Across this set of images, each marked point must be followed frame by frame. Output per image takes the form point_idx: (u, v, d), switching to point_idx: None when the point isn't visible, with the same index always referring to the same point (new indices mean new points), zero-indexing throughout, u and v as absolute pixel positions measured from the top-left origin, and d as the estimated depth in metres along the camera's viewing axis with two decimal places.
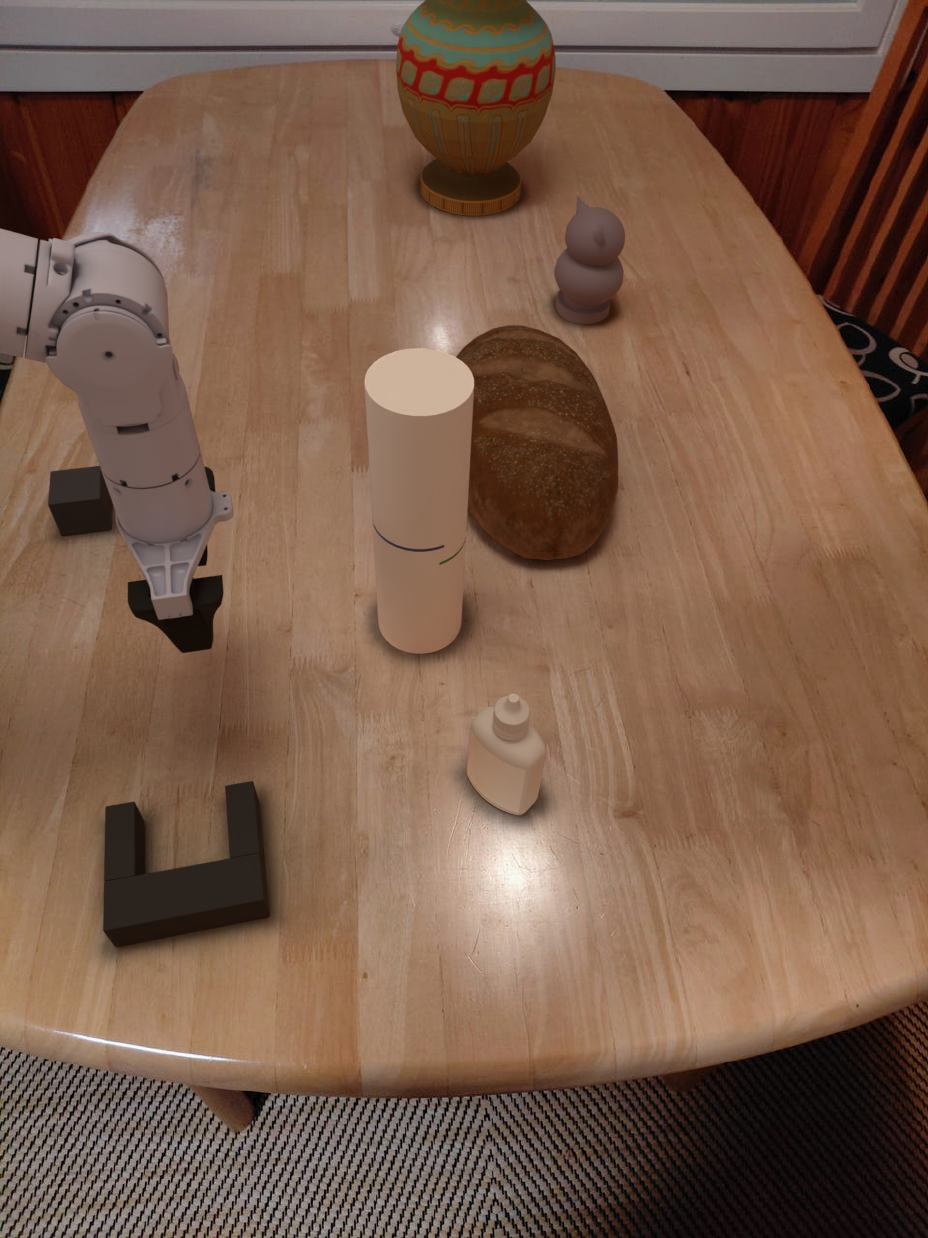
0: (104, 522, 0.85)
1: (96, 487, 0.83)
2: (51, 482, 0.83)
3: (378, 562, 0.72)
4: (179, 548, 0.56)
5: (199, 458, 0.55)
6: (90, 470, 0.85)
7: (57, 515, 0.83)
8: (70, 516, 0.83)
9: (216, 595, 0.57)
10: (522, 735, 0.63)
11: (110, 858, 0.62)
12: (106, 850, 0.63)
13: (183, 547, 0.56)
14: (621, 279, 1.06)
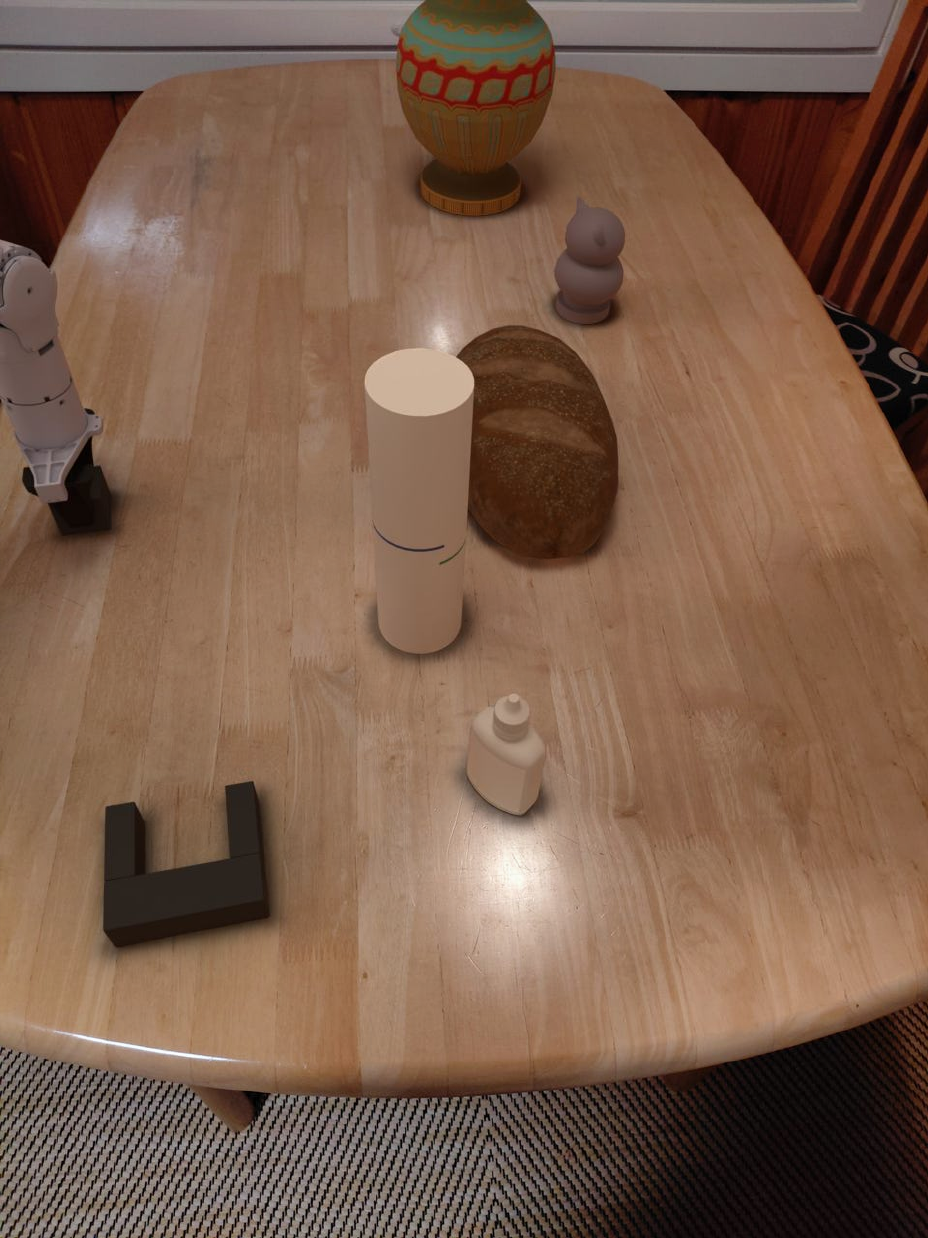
0: (104, 522, 0.85)
1: (96, 487, 0.83)
2: None
3: (378, 562, 0.72)
4: (59, 453, 0.77)
5: (71, 385, 0.75)
6: None
7: (57, 515, 0.83)
8: None
9: (87, 477, 0.78)
10: (522, 735, 0.63)
11: (110, 858, 0.62)
12: (106, 850, 0.63)
13: (62, 452, 0.77)
14: (621, 279, 1.06)
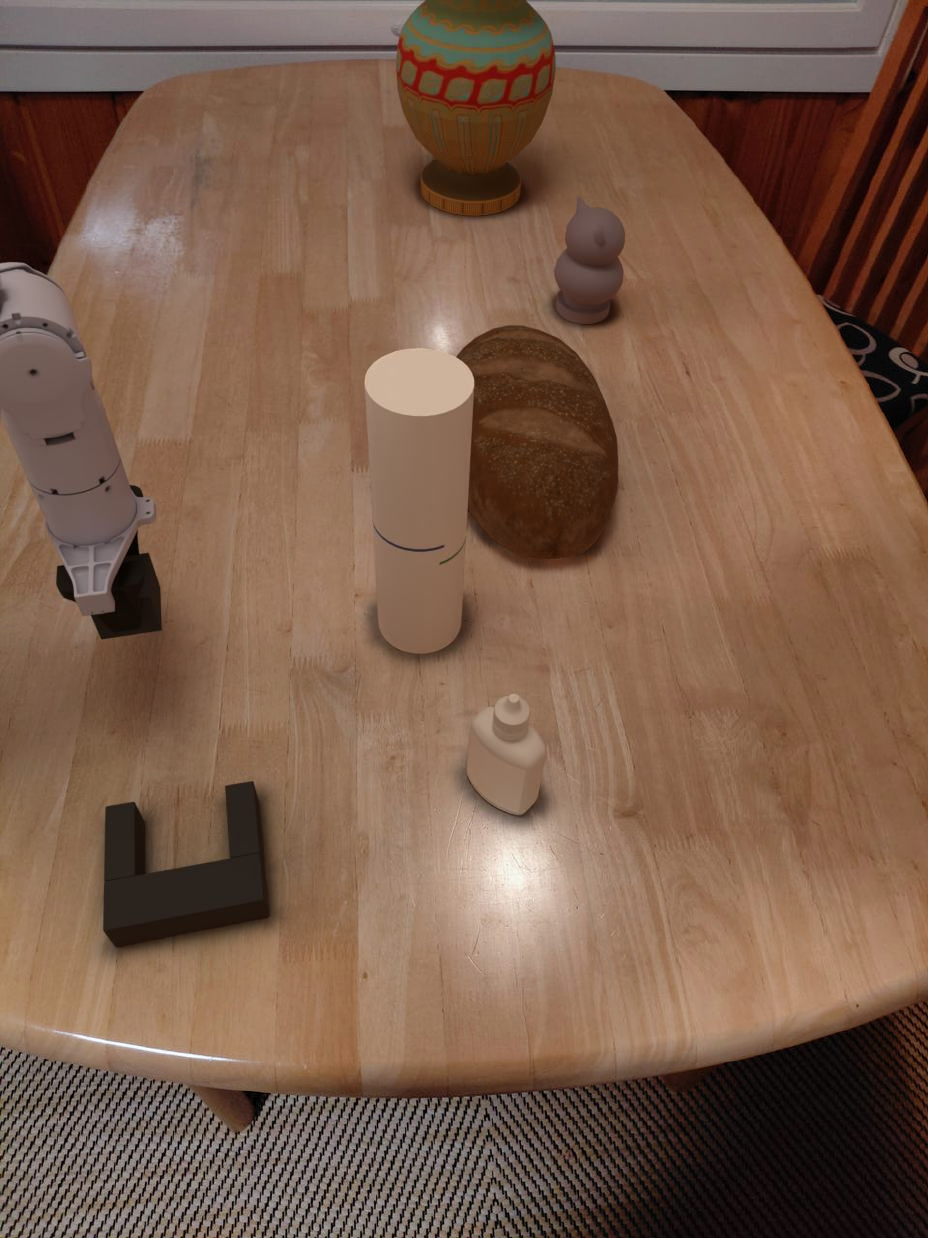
0: (154, 623, 0.69)
1: (145, 582, 0.67)
2: None
3: (378, 562, 0.72)
4: (103, 550, 0.61)
5: (119, 466, 0.59)
6: (137, 559, 0.69)
7: (97, 617, 0.67)
8: None
9: (138, 577, 0.62)
10: (522, 735, 0.63)
11: (110, 858, 0.62)
12: (106, 850, 0.63)
13: (107, 548, 0.61)
14: (621, 279, 1.06)
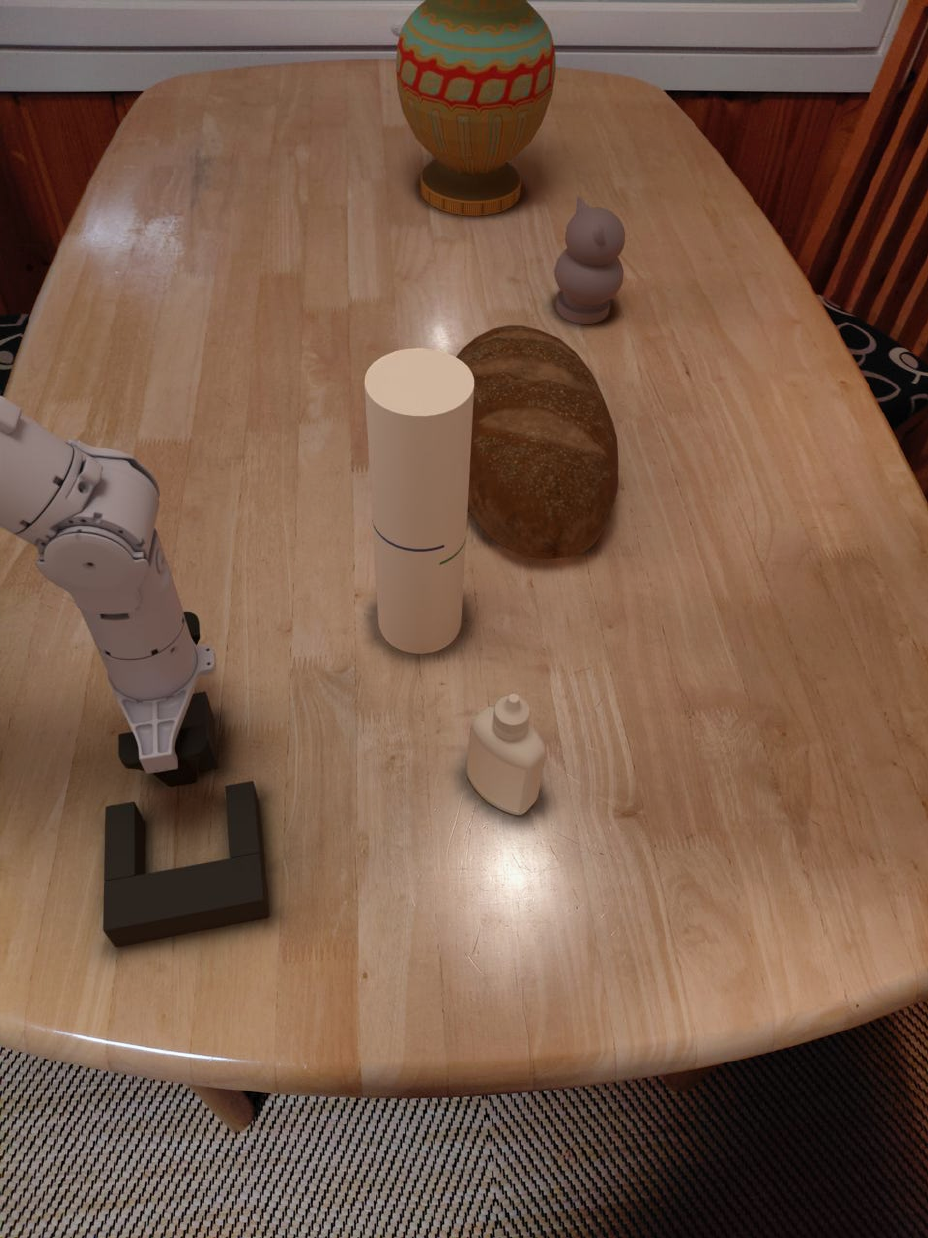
0: (210, 761, 0.70)
1: (203, 724, 0.68)
2: None
3: (378, 562, 0.72)
4: (165, 704, 0.61)
5: (183, 626, 0.60)
6: (194, 698, 0.69)
7: None
8: None
9: (199, 746, 0.62)
10: (522, 735, 0.63)
11: (110, 858, 0.62)
12: (106, 850, 0.63)
13: (169, 702, 0.61)
14: (621, 279, 1.06)
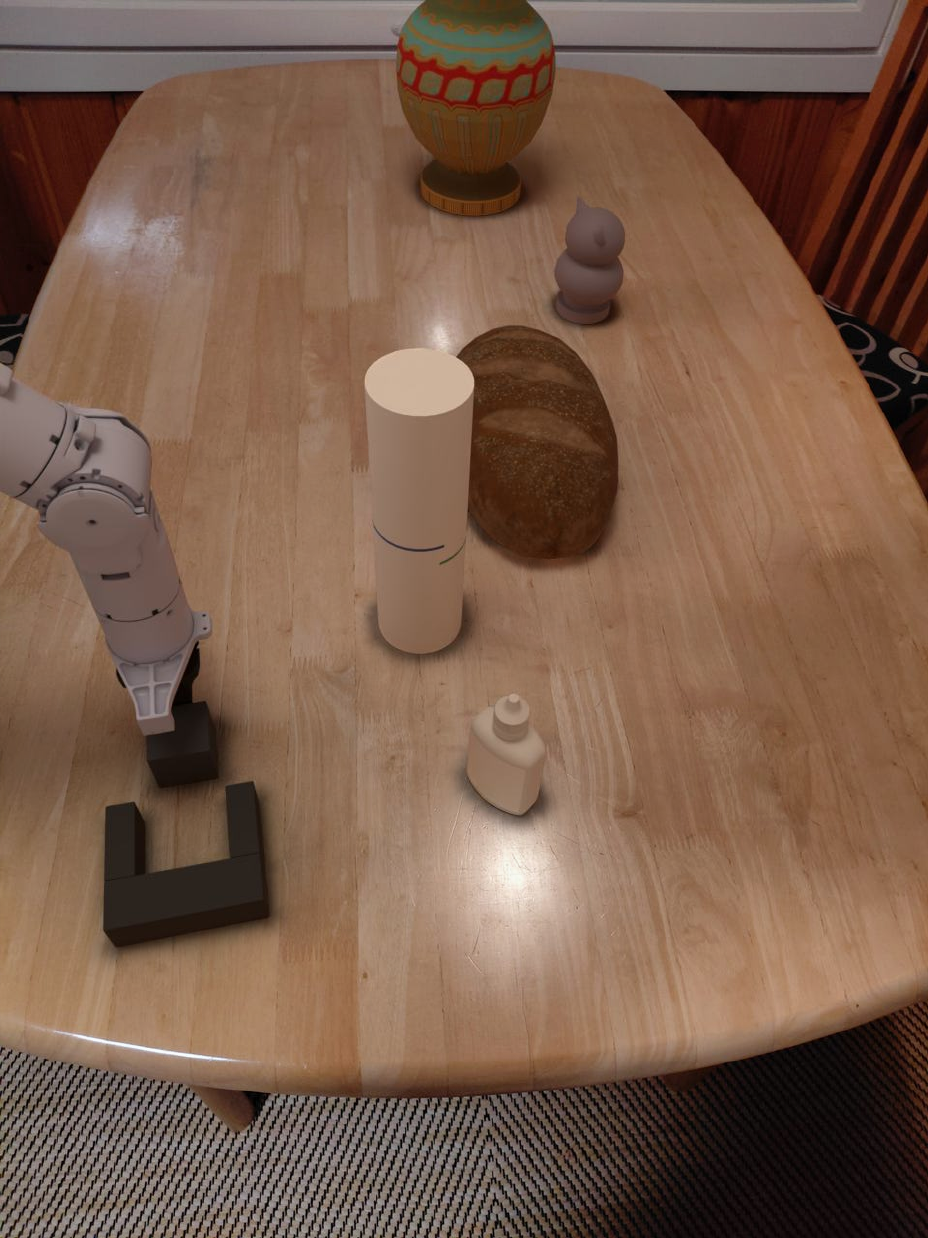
0: (211, 771, 0.69)
1: (203, 734, 0.68)
2: None
3: (378, 562, 0.72)
4: (162, 667, 0.62)
5: (180, 589, 0.60)
6: (195, 708, 0.69)
7: (156, 770, 0.67)
8: (171, 769, 0.68)
9: (194, 667, 0.65)
10: (522, 735, 0.63)
11: (110, 858, 0.62)
12: (106, 850, 0.63)
13: (166, 666, 0.62)
14: (621, 279, 1.06)
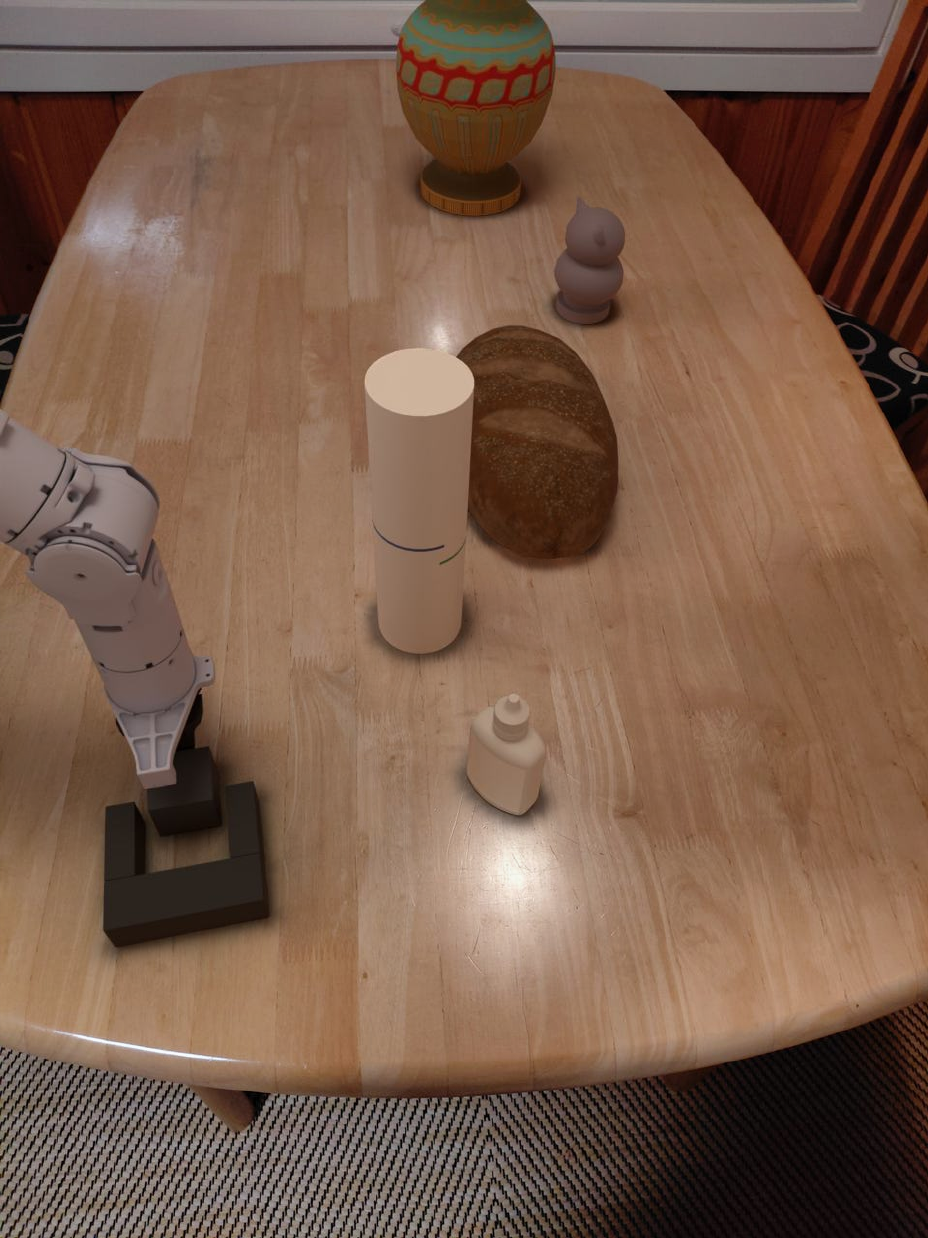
0: (214, 819, 0.67)
1: (206, 782, 0.65)
2: None
3: (378, 562, 0.72)
4: (163, 717, 0.60)
5: (182, 637, 0.58)
6: (197, 754, 0.67)
7: (157, 819, 0.65)
8: (173, 818, 0.65)
9: (196, 715, 0.62)
10: (522, 735, 0.63)
11: (110, 858, 0.62)
12: (106, 850, 0.63)
13: (167, 715, 0.60)
14: (621, 279, 1.06)
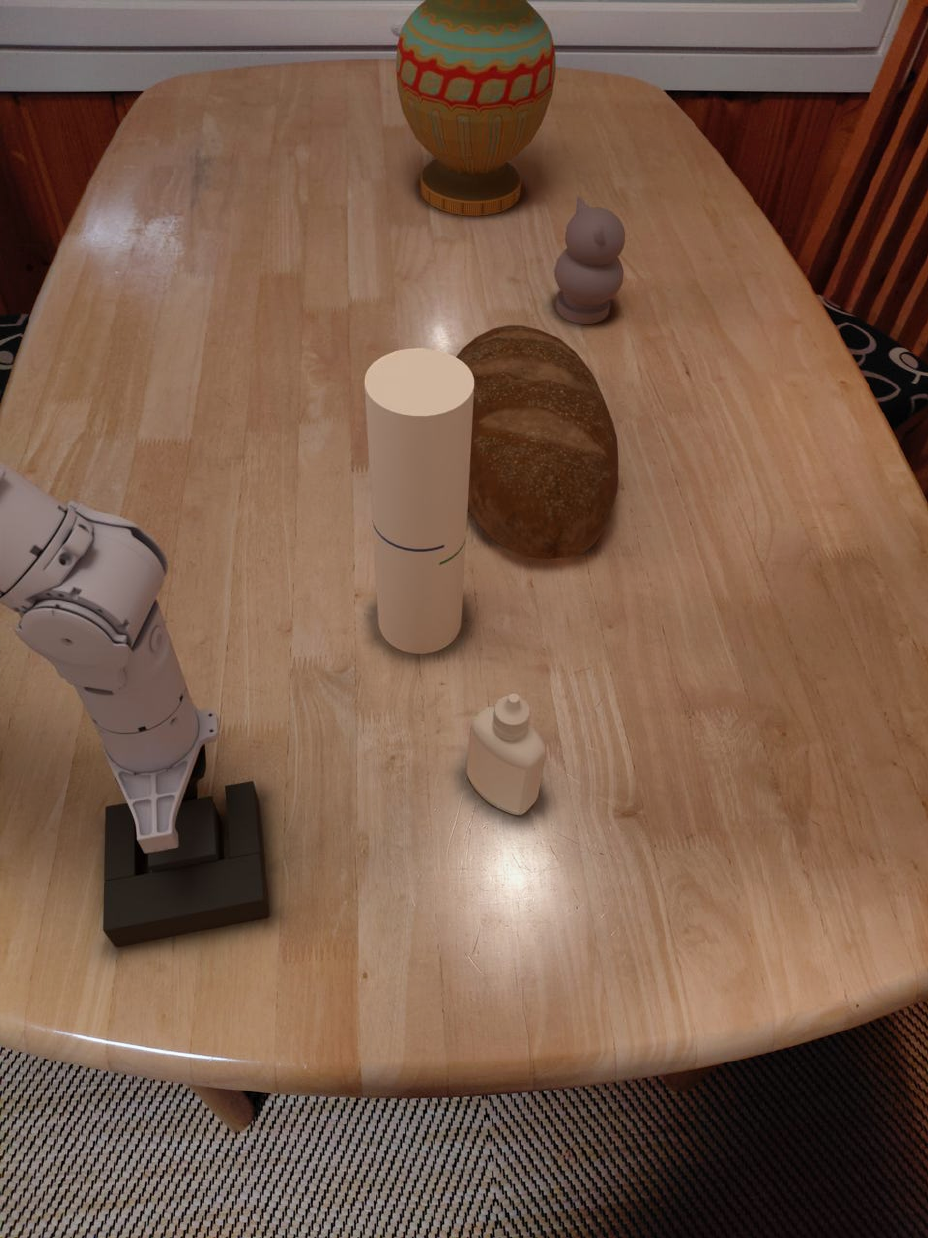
0: None
1: (209, 835, 0.63)
2: None
3: (378, 562, 0.72)
4: (165, 776, 0.57)
5: (184, 694, 0.55)
6: (200, 804, 0.64)
7: None
8: None
9: (199, 768, 0.60)
10: (522, 735, 0.63)
11: (110, 858, 0.62)
12: (106, 850, 0.63)
13: (169, 774, 0.57)
14: (621, 279, 1.06)
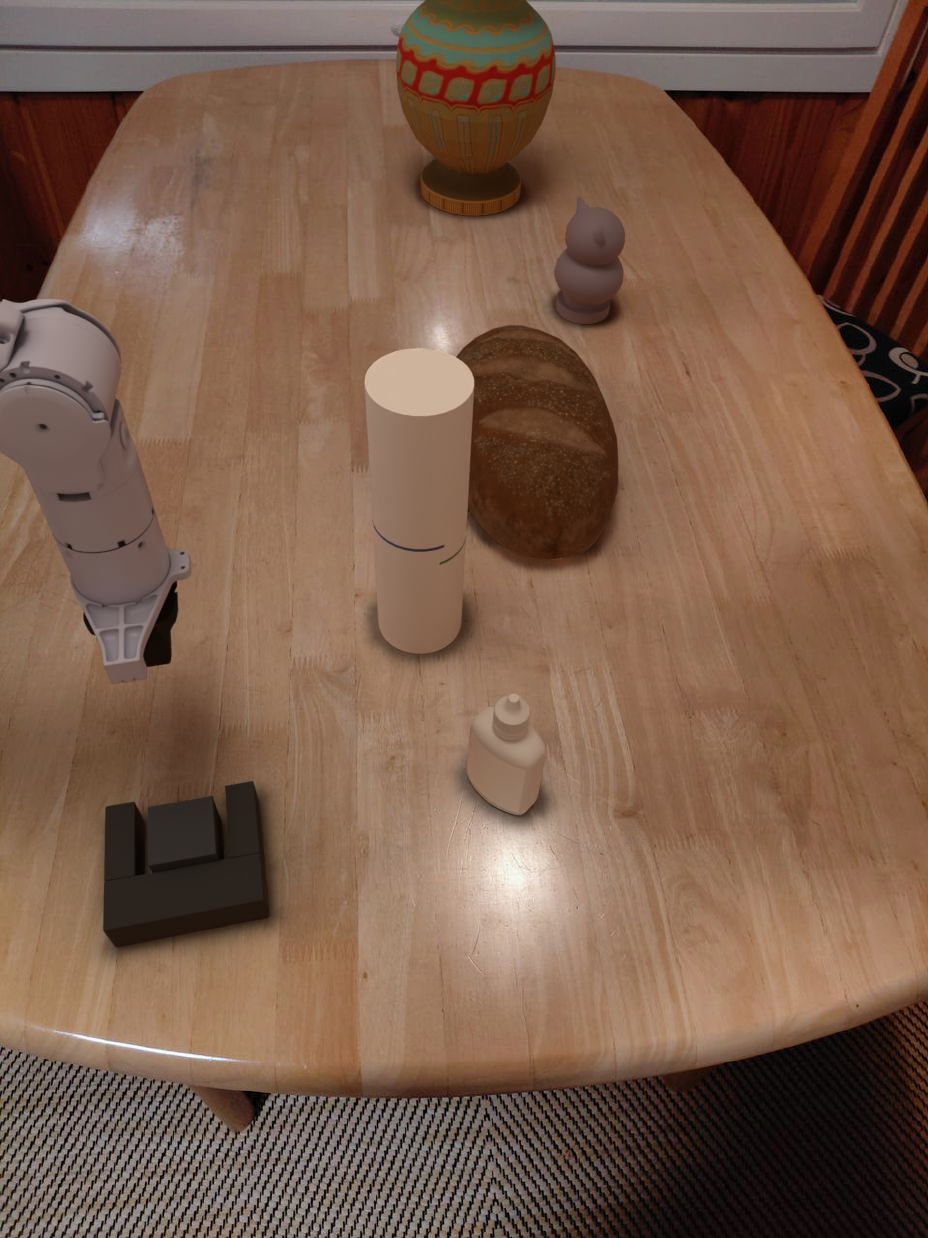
0: None
1: (209, 835, 0.63)
2: (150, 826, 0.63)
3: (378, 562, 0.72)
4: (134, 609, 0.55)
5: (153, 519, 0.54)
6: (200, 804, 0.64)
7: None
8: None
9: (171, 612, 0.58)
10: (522, 735, 0.63)
11: (110, 858, 0.62)
12: (106, 850, 0.63)
13: (138, 608, 0.55)
14: (621, 279, 1.06)
